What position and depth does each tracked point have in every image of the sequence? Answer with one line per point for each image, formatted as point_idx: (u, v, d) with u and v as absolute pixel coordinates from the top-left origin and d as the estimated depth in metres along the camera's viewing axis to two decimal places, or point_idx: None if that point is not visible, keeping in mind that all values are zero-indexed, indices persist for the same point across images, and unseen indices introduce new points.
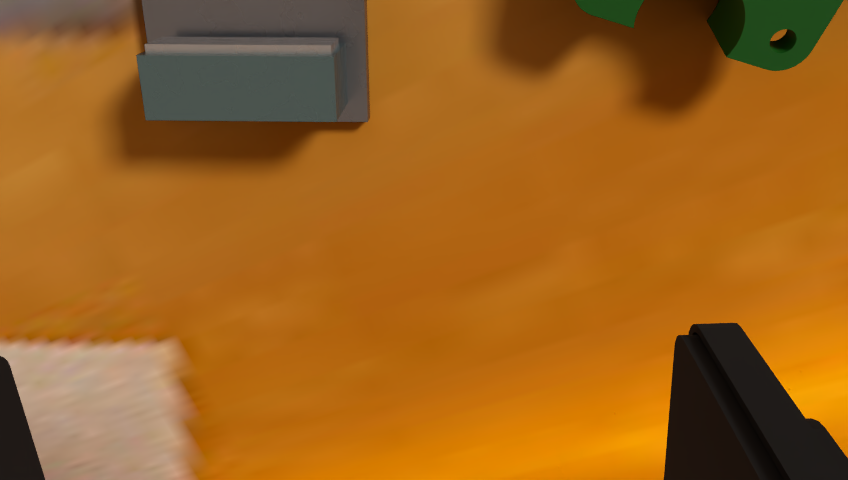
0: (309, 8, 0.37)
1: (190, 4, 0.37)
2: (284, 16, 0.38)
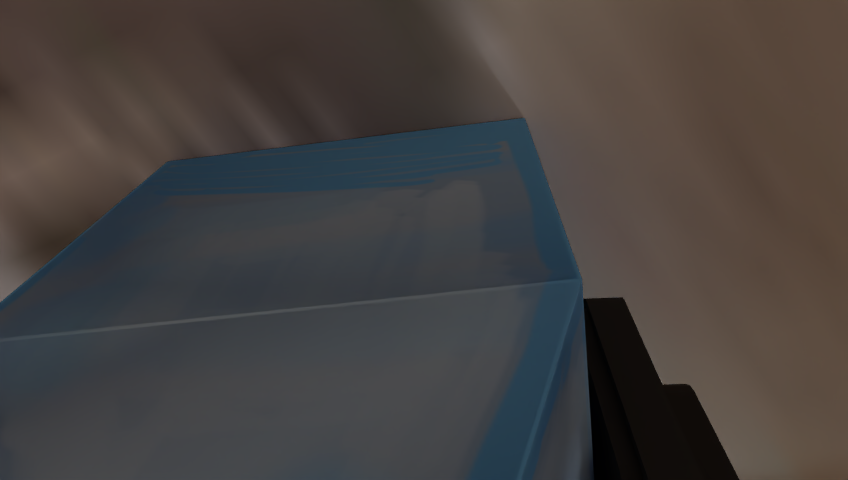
0: None
1: None
2: None
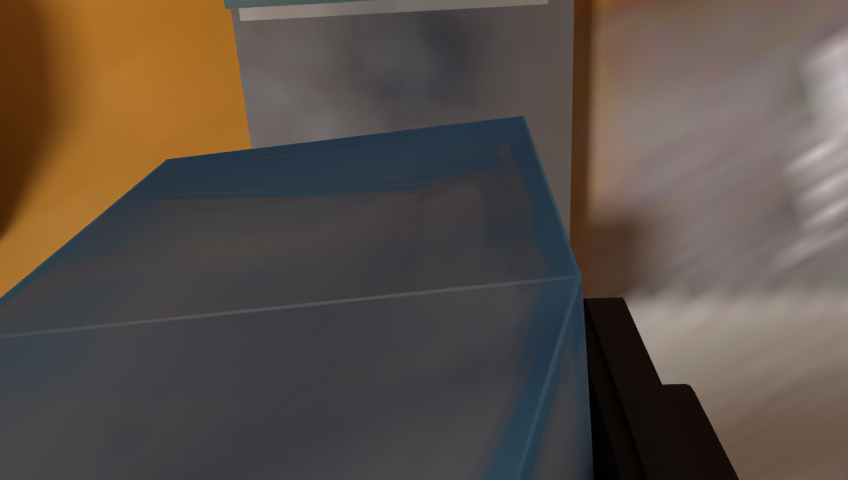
0: (319, 45, 0.25)
1: (498, 40, 0.25)
2: (355, 30, 0.25)
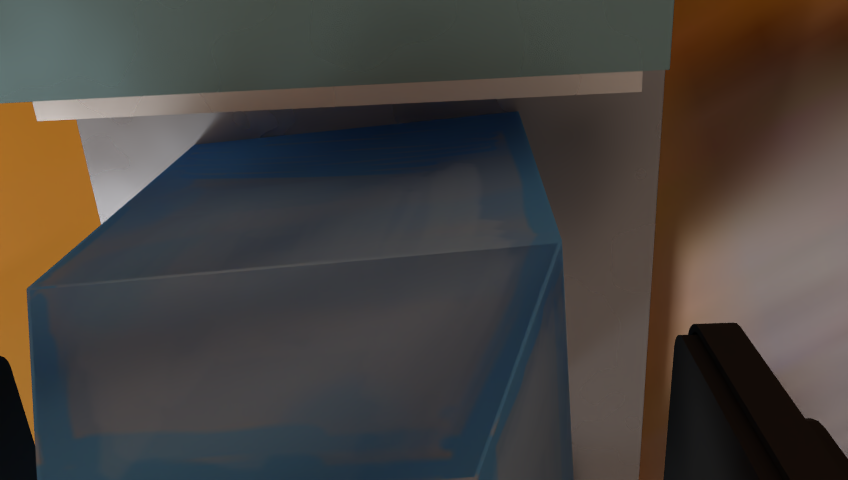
0: (221, 138, 0.15)
1: (530, 132, 0.14)
2: (283, 114, 0.14)
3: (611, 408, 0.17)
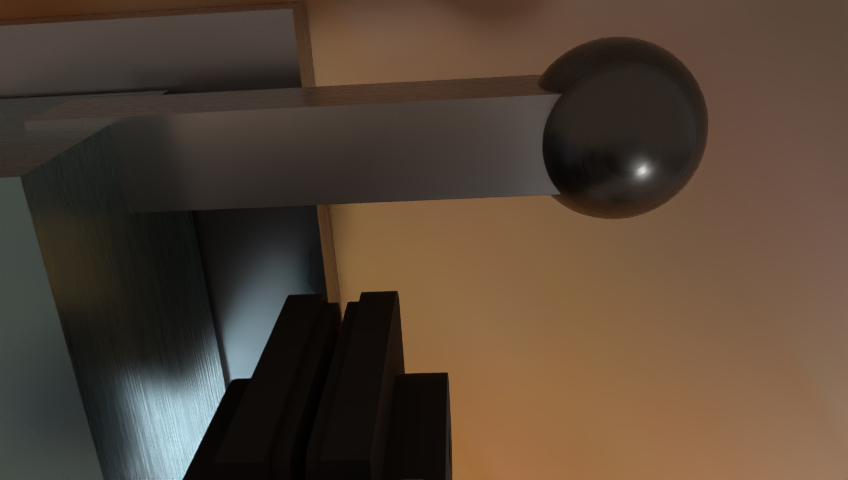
0: None
1: None
2: None
3: None
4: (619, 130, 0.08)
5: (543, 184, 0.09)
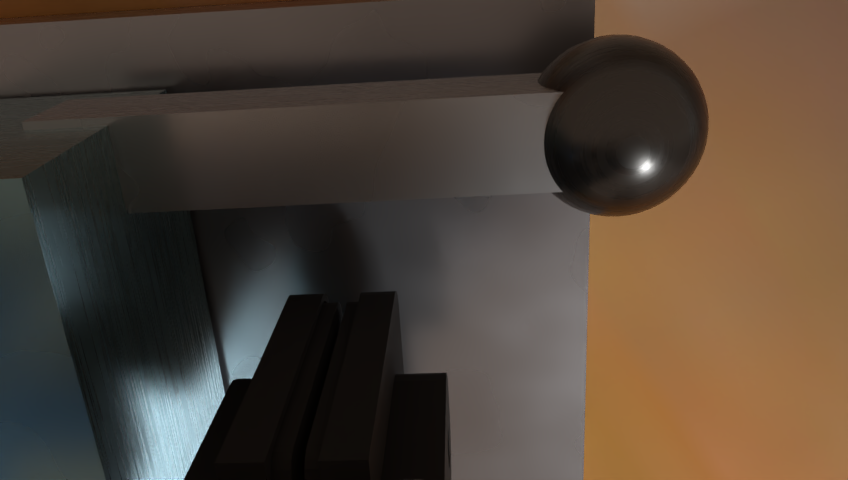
0: None
1: None
2: None
3: (34, 73, 0.11)
4: (621, 128, 0.08)
5: (545, 182, 0.09)
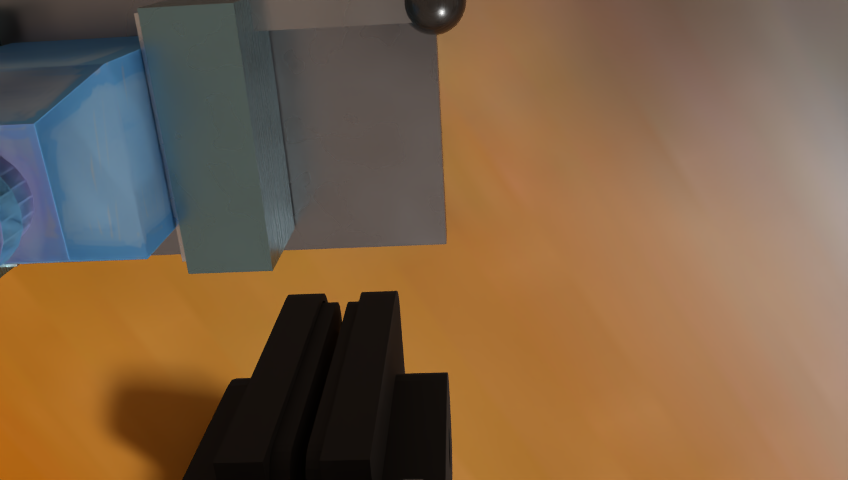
0: None
1: None
2: None
3: None
4: None
5: (405, 18, 0.25)
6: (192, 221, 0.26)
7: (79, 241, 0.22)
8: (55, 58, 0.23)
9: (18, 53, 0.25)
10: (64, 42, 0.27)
